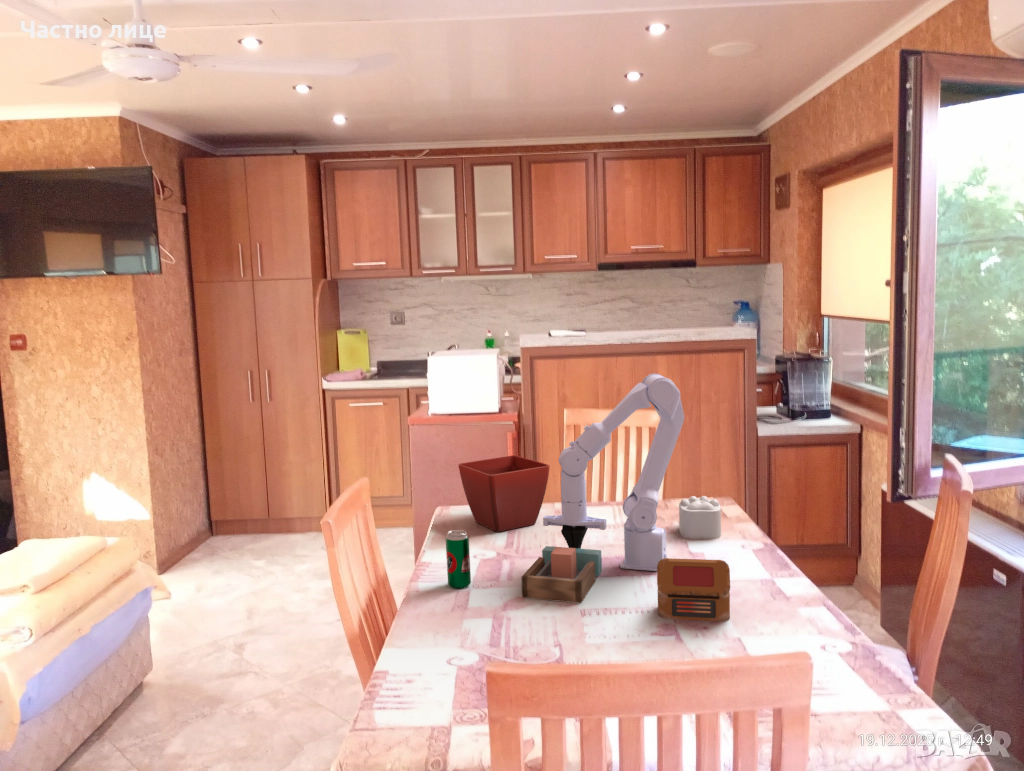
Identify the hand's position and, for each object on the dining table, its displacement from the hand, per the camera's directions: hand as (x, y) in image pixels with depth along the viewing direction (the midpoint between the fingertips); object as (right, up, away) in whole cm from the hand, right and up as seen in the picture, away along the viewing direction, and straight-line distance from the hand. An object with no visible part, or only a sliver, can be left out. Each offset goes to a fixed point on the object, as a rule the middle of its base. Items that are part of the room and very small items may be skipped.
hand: (575, 557), depth 176 cm
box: (+21, -5, -27) cm, 34 cm away
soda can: (-26, -5, -8) cm, 28 cm away
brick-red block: (-3, -2, -9) cm, 10 cm away
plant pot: (-16, +1, +37) cm, 41 cm away
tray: (-3, -3, -8) cm, 9 cm away
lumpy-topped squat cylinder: (+34, +1, +24) cm, 42 cm away
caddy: (-4, -4, -12) cm, 13 cm away
